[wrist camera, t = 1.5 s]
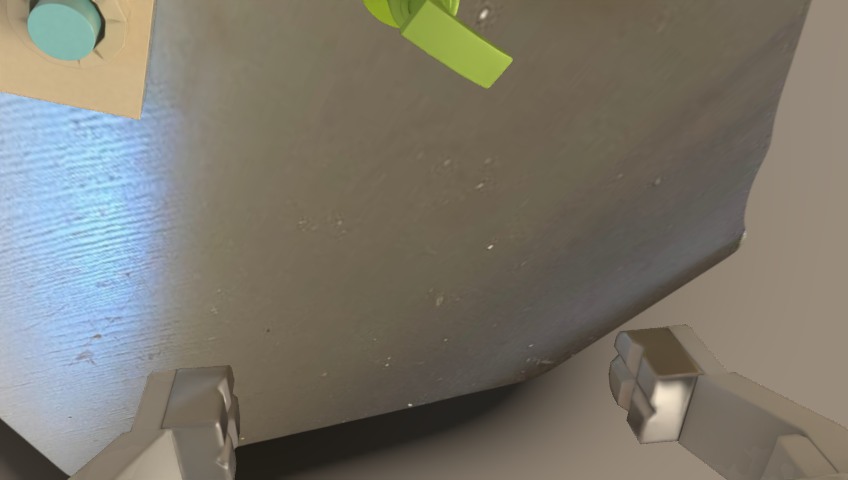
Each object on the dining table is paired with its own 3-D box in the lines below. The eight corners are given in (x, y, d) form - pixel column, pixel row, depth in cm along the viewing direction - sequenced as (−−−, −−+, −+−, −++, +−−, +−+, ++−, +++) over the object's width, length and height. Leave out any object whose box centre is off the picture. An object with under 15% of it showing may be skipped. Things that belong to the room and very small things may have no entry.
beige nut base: (4, -89, 39) (-22, -61, 36) (162, -43, 43) (153, -13, 39) (8, 69, 46) (-13, 107, 42) (145, 99, 49) (136, 135, 46)
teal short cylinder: (35, -20, 38) (26, -5, 36) (103, -2, 39) (96, 13, 38) (35, 36, 40) (26, 52, 39) (99, 51, 41) (93, 67, 40)
